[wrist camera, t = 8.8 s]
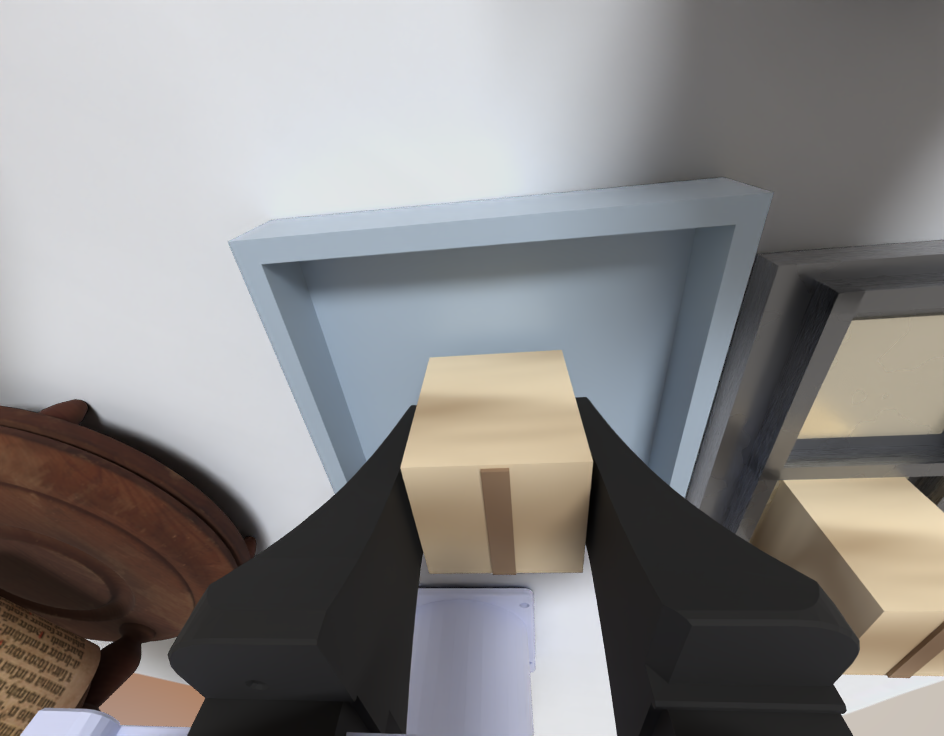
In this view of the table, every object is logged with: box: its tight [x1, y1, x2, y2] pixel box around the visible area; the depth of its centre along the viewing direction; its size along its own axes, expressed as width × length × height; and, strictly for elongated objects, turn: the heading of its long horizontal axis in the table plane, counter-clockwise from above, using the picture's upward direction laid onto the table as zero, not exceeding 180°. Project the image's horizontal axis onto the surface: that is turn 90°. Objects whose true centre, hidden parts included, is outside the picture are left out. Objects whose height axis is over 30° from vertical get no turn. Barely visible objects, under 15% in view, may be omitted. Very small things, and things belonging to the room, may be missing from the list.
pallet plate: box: [686, 240, 944, 544], centre depth 14 cm, size 14×9×2 cm, turn 6°
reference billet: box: [752, 477, 944, 678], centre depth 13 cm, size 4×4×5 cm
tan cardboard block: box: [400, 350, 593, 575], centre depth 11 cm, size 4×4×5 cm
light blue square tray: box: [228, 177, 774, 498], centre depth 13 cm, size 12×12×2 cm
